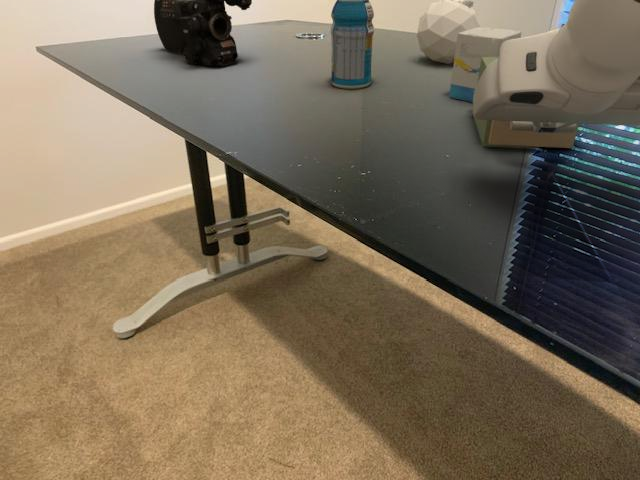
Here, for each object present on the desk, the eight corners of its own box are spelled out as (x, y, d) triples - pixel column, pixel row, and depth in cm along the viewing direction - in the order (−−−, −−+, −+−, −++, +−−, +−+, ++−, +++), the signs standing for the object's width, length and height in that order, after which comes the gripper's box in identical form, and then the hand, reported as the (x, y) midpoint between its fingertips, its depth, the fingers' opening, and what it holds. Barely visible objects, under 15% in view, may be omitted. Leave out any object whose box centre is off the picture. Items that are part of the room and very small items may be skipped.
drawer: (580, 160, 68) (597, 103, 64) (493, 156, 69) (503, 100, 65) (550, 117, 83) (562, 68, 78) (478, 114, 84) (486, 66, 80)
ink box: (489, 106, 90) (501, 38, 84) (447, 97, 95) (455, 32, 89) (510, 95, 96) (523, 30, 89) (469, 87, 101) (479, 25, 94)
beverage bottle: (341, 92, 99) (342, -22, 88) (323, 81, 106) (322, -26, 95) (379, 86, 102) (384, -25, 91) (359, 76, 108) (362, -28, 98)
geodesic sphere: (498, 31, 119) (468, -24, 115) (493, 43, 107) (459, -17, 104) (443, 67, 127) (412, 17, 124) (432, 82, 116) (399, 27, 112)
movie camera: (271, 57, 122) (261, -25, 112) (208, 74, 112) (191, -13, 103) (203, 44, 142) (189, -26, 132) (144, 58, 132) (125, -17, 123)
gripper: (693, 44, 52) (629, 108, 65) (487, 40, 54) (466, 102, 68) (697, 100, 50) (630, 153, 64) (485, 93, 53) (464, 146, 66)
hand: (544, 127), depth 66 cm, fingers closed
